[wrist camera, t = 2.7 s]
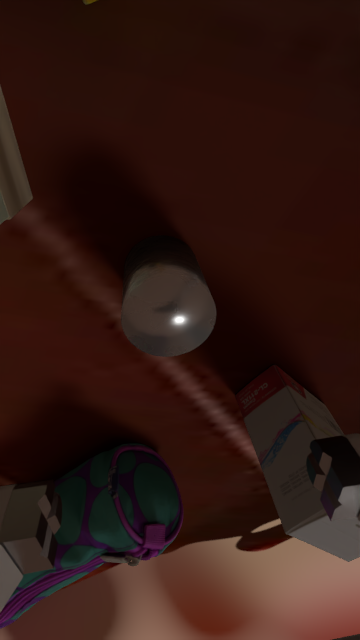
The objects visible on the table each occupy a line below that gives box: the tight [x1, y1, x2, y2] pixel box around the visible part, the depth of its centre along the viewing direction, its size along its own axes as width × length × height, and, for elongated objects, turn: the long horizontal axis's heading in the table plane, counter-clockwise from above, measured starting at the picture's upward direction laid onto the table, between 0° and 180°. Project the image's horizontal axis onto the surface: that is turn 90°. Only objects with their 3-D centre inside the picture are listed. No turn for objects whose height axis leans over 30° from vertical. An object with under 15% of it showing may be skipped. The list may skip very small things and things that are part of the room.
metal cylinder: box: [121, 235, 216, 357], centre depth 20 cm, size 5×5×6 cm
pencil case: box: [0, 443, 183, 628], centre depth 30 cm, size 21×9×10 cm, turn 127°
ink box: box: [235, 365, 360, 562], centre depth 26 cm, size 9×5×12 cm, turn 45°
